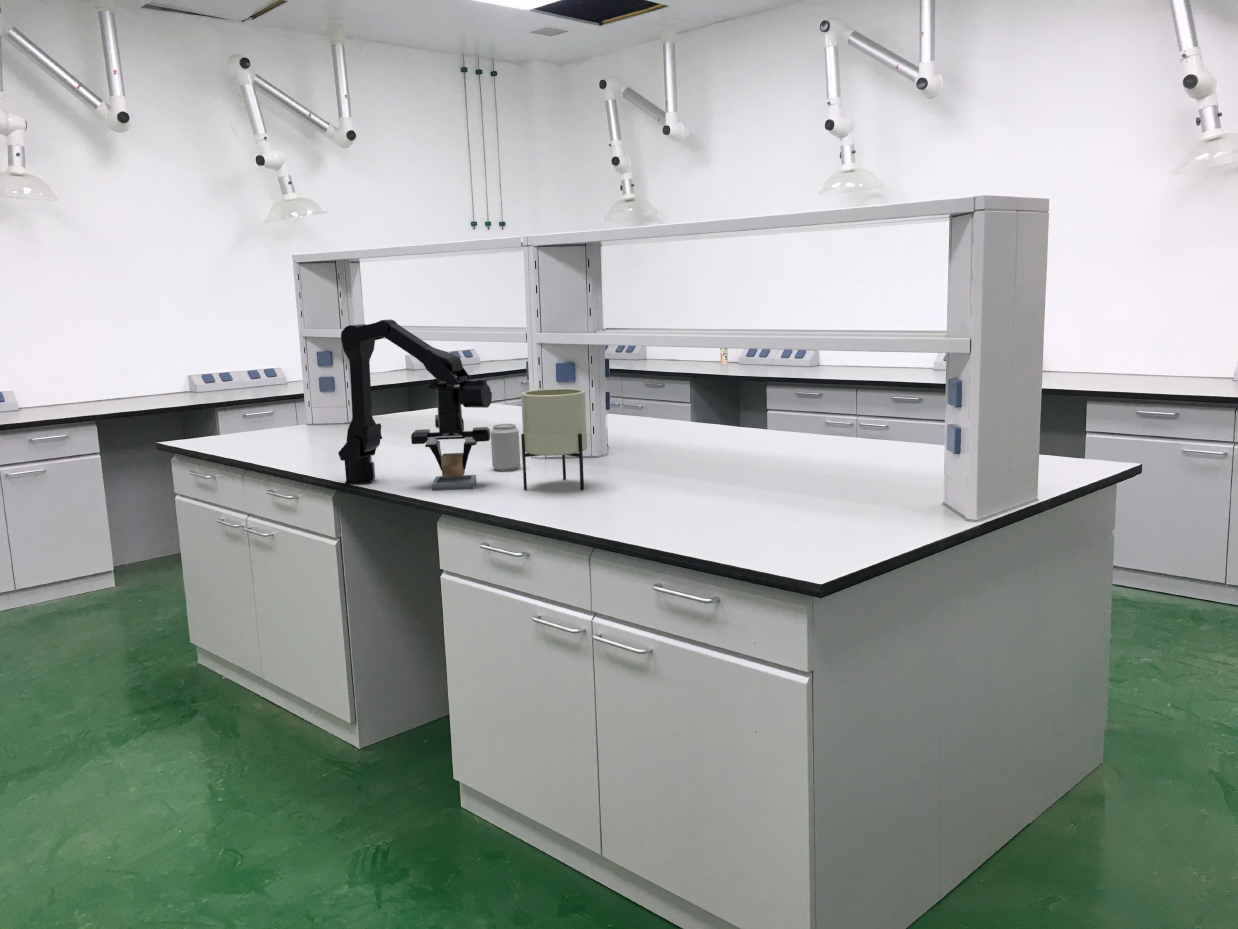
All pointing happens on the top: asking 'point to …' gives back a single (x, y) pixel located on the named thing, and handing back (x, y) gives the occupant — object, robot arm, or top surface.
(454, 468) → the cube
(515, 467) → the can
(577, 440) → the planter
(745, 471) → the top surface
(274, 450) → the top surface
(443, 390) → the robot arm
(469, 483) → the tray
